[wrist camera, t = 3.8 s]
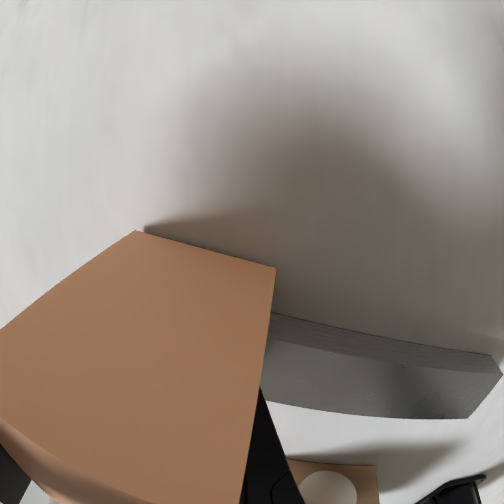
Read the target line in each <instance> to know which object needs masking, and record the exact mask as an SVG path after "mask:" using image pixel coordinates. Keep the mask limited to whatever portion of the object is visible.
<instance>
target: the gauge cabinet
mask: <svg viewBox="0 0 504 504" xmlns="http://www.w3.org/2000/svg"><path fill="white" fill-rule="evenodd" d="M287 461H288V464H289V467H290V470H291V472H292V474H293V477H294V479H295V482H296V484H297V486H298V489H299V491H300V493H301V495H302V497H303V499H304V501H305V503H306V504H380V503H379V493H378V484H377V476H376V469H375V466H360V465H338V464H324V463H314V462H305V461H297V460H289V459H287Z"/></svg>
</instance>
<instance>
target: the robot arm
mask: <svg viewBox="0 0 504 504" xmlns="http://www.w3.org/2000/svg"><path fill="white" fill-rule="evenodd" d="M485 479H486V475H482V476H478V477H474V478H470V479H466V480H461V481H457V482H452V483H447V484H445V485H443V486H442V487H440V488H439V489H437V490H436V491H435V492H433V493H432V494H430V495H429V496H427V497H426V498H424V499H423V500H421V501H420V502H418V503H417V504H482V503H481V500H480V496H479V492H478V489H477V485H478V484H480V483H481V482H482V481H484V480H485ZM31 480H32V479H31V478H30V477H29V476H28V475H27V474H26V473H25V472H24V471H23V470H22V469H21V467H20V466H19V465H18V464H17V463H16V462H15V461H14V460H13V458H12V457H11V456H10V455H9V454H8V453H7V451H6V450H5V449H4V448H3V446H2V445H1V444H0V502H1V503H3V504H19V503H20V501H21V499H22V497H23V495H24V493H25V491H26V489H27V487H28V486H29V484H30V482H31ZM239 504H306V503H305V501H304V499H303V497H302V495H301V493H300V491H299V489H298V486H297V484H296V482H295V479H294V477H293V474H292V472H291V470H290V467H289V464H288V461H287V459H286V456H285V454H284V451H283V448H282V445H281V443H280V440H279V437H278V435H277V432H276V429H275V426H274V424H273V421H272V418H271V415H270V413H269V410H268V407H267V404H266V401H265V398H264V396H263V393H262V390H261V387H260V385H259V392H258V398H257V404H256V410H255V416H254V422H253V428H252V434H251V440H250V445H249V451H248V457H247V462H246V468H245V473H244V478H243V484H242V489H241V494H240V500H239Z"/></svg>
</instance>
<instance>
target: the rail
mask: <svg viewBox="0 0 504 504" xmlns="http://www.w3.org/2000/svg"><path fill="white" fill-rule="evenodd" d="M502 376H503V373H502V372H501V370H500V369H499V367H498V366H497V364H496V363H495V361H494V360H493V358H492V357H491V355H484V354H477V353H470V352H463V351H457V350H450V349H444V348H438V347H432V346H426V345H420V344H415V343H409V342H404V341H399V340H393V339H388V338H383V337H378V336H373V335H368V334H363V333H358V332H354V331H349V330H344V329H340V328H335V327H331V326H326V325H322V324H318V323H313V322H309V321H305V320H301V319H297V318H292V317H288V316H284V315H280V314H276V313H272V312H270V319H269V326H268V333H267V340H266V346H265V353H264V360H263V366H262V373H261V379H260V387H261V390H262V393H263V396H264V398H265V400H267V401H272V402H276V403H281V404H286V405H292V406H297V407H303V408H309V409H315V410H321V411H328V412H336V413H343V414H352V415H361V416H372V417H385V418H402V419H467V418H468V417H469V416H470V415H471V414H472V413H473V412H474V411H475V410H476V408H477V407H478V406H479V405H480V404H481V403H482V401H483V400H484V399H485V398H486V396H487V395H488V394H489V393H490V391H491V390H492V389H493V388H494V386H495V385H496V384H497V382H498V381H499V380H500V378H501V377H502Z"/></svg>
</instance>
